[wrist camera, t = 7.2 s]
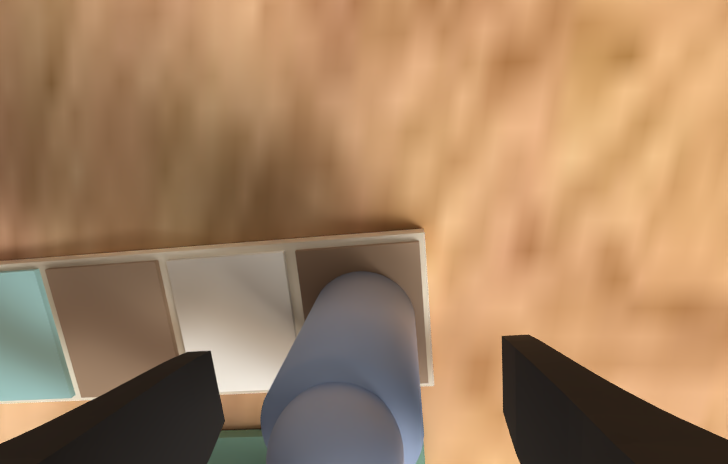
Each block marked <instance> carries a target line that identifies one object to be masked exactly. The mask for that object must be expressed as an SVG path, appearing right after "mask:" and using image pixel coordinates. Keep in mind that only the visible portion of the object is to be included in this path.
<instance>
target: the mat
mask: <svg viewBox="0 0 728 464" xmlns="http://www.w3.org/2000/svg"><path fill="white" fill-rule="evenodd" d="M266 454H267V447H266V445H265V442H264V439H263V436H262V431H261V429H250V430H221V432H220V435H219V437H218V440H217V442H216V445H215V447H214V449H213V452H212V454H211V457H210V459H209V461H208V463H207V464H266ZM416 464H425V456H424V442H423V446H422V450H421V453H420V456H419V458H418V460H417V462H416Z"/></svg>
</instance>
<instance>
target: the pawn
mask: <svg viewBox="0 0 728 464" xmlns="http://www.w3.org/2000/svg"><path fill="white" fill-rule="evenodd" d="M261 431H262V436H263V439H264V442H265V445H266V447H267V454H266V464H416V462H417V460H418V458H419V456H420V453H421V450H422V446H423V438H424V429H423V416H422V403H421V390H420V377H419V364H418V351H417V338H416V325H415V314H414V309H413V306H412V303H411V301H410V299H409V297H408V296H407V294H406V293H405V291H404V290H403V289H402V288H401V287H400V286H399V285H398V284H396V283H395V282H394V281H392V280H391V279H389V278H387V277H385V276H383V275H380V274H377V273H373V272H365V271H358V272H351V273H347V274H344V275H341V276H339V277H337V278H335V279H334V280H332V281H331V282H329V283H328V284H327V285H326V286H325V287H324V288H323V289H322V291H321V292H320V294H319V295H318V297H317V299H316V301H315V303H314V305H313V307H312V309H311V311H310V313H309V314H308V316H307V318H306V320H305V322H304V324H303V326H302V328H301V330H300V332H299V334H298V335H297V337H296V339H295V341H294V343H293V345H292V347H291V349H290V351H289V353H288V355H287V357H286V358H285V360H284V362H283V364H282V366H281V368H280V370H279V372H278V374H277V376H276V378H275V380H274V381H273V383H272V385H271V387H270V389H269V391H268V393H267V395H266V397H265V400H264V403H263V406H262V410H261Z"/></svg>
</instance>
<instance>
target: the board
mask: <svg viewBox="0 0 728 464" xmlns="http://www.w3.org/2000/svg"><path fill="white" fill-rule="evenodd" d="M358 271H365V272H373V273H377V274H380V275H383V276H385V277H387V278H389V279H391V280H392V281H394V282H395V283H396V284H398V285H399V286H400V287H401V288H402V289H403V290H404V291H405V293H406V294H407V296H408V297H409V299H410V301H411V303H412V306H413V309H414V314H415V325H416V338H417V351H418V364H419V377H420V386H434V375H433V359H432V343H431V327H430V310H429V294H428V278H427V262H426V246H425V232H424V229H410V230H397V231H384V232H371V233H358V234H345V235H332V236H319V237H306V238H293V239H280V240H267V241H254V242H241V243H228V244H215V245H202V246H189V247H176V248H163V249H150V250H137V251H124V252H111V253H98V254H85V255H72V256H59V257H46V258H33V259H20V260H7V261H0V404H7V403H31V402H56V401H80V400H93V399H95V398H97V397H99V396H101V395H103V394H105V393H107V392H108V391H110V390H112V389H114V388H116V387H118V386H120V385H122V384H123V383H125V382H127V381H129V380H131V379H133V378H135V377H137V376H138V375H140V374H142V373H144V372H146V371H148V370H150V369H152V368H154V367H156V366H158V365H159V364H161V363H163V362H166V361H168V360H170V359H172V358H174V357H176V356H178V355H181V354H183V353H186V352H193V351H211V354H212V359H213V364H214V369H215V374H216V379H217V384H218V389H219V394H220V395H225V394H250V393H268V391H269V389H270V387H271V385H272V383H273V381H274V380H275V378H276V376H277V374H278V372H279V370H280V368H281V366H282V364H283V362H284V360H285V358H286V357H287V355H288V353H289V351H290V349H291V347H292V345H293V343H294V341H295V339H296V337H297V335H298V334H299V332H300V330H301V328H302V326H303V324H304V322H305V320H306V318H307V316H308V314H309V313H310V311H311V309H312V307H313V305H314V303H315V301H316V299H317V297H318V295H319V294H320V292H321V291H322V289H323V288H324V287H325V286H326V285H327V284H328V283H329V282H331V281H332V280H334V279H335V278H337V277H339V276H341V275H344V274H347V273H351V272H358Z"/></svg>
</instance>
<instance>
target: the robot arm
mask: <svg viewBox="0 0 728 464" xmlns="http://www.w3.org/2000/svg"><path fill="white" fill-rule="evenodd" d="M502 372H503V413H504V416H505V419H506V423H507V426H508V429H509V433H510V436H511V439H512V442H513V445H514V448H515V451H516V454H517V457H518V459H519V461H520V464H728V440H727V439H725V438H722V437H720V436H718V435H716V434H713V433H711V432H709V431H707V430H705V429H702V428H700V427H698V426H696V425H693V424H691V423H689V422H687V421H685V420H682V419H680V418H678V417H676V416H674V415H672V414H670V413H668V412H666V411H664V410H661V409H659V408H657V407H655V406H653V405H652V404H650V403H648V402H646V401H644V400H642V399H640V398H638V397H636V396H634V395H633V394H631V393H629V392H627V391H625V390H623V389H621V388H619V387H618V386H616V385H614V384H612V383H610V382H609V381H607V380H605V379H603V378H602V377H600V376H598V375H596V374H595V373H593V372H591V371H590V370H588V369H586V368H584V367H583V366H581V365H579V364H578V363H576V362H574V361H573V360H571V359H569V358H568V357H566V356H565V355H563V354H561V353H560V352H558V351H556V350H555V349H553V348H551V347H550V346H548V345H546V344H545V343H543V342H541V341H540V340H538V339H536V338H534V337H532V336H530V335H513V336H502ZM224 421H225V419H224V414H223V409H222V404H221V399H220V394H219V389H218V384H217V379H216V374H215V369H214V364H213V359H212V354H211V351H193V352H186V353H183V354H181V355H178V356H176V357H174V358H172V359H170V360H168V361H166V362H163V363H161V364H159V365H158V366H156V367H154V368H152V369H150V370H148V371H146V372H144V373H142V374H140V375H138V376H137V377H135V378H133V379H131V380H129V381H127V382H125V383H123V384H122V385H120V386H118V387H116V388H114V389H112V390H110V391H108V392H107V393H105V394H103V395H101V396H99V397H97V398H95V399H93V400H91V401H89V402H87V403H85V404H83V405H81V406H79V407H77V408H75V409H73V410H71V411H69V412H67V413H65V414H63V415H61V416H59V417H57V418H55V419H53V420H51V421H49V422H47V423H45V424H43V425H41V426H39V427H37V428H35V429H32V430H30V431H28V432H26V433H24V434H22V435H19V436H17V437H15V438H13V439H10V440H8V441H6V442H3V443H1V444H0V464H207V463H208V461H209V459H210V457H211V454H212V452H213V449H214V447H215V445H216V442H217V440H218V437H219V435H220V432H221V429H222V427H223V424H224Z"/></svg>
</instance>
